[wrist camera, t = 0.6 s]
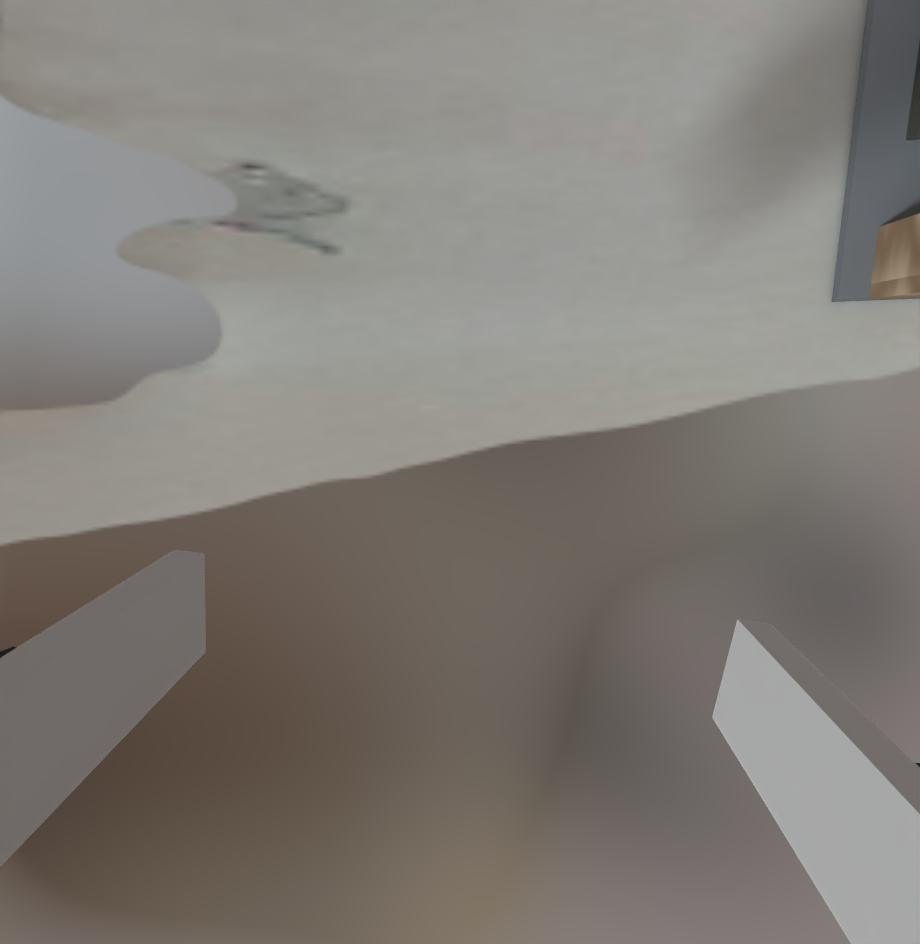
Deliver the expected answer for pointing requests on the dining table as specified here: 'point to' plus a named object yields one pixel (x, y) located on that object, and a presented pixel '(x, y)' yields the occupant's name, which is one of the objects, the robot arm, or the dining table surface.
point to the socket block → (897, 260)
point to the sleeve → (915, 106)
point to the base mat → (880, 144)
